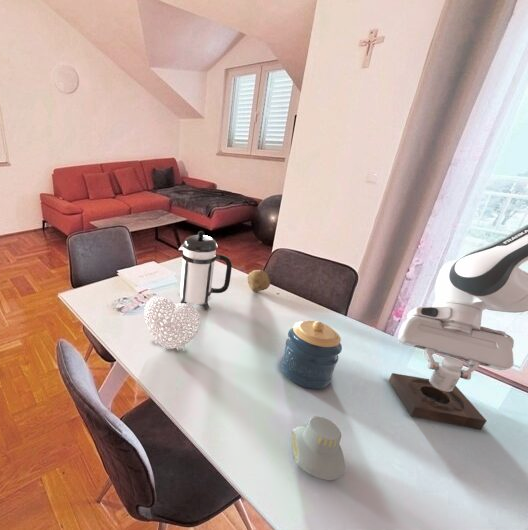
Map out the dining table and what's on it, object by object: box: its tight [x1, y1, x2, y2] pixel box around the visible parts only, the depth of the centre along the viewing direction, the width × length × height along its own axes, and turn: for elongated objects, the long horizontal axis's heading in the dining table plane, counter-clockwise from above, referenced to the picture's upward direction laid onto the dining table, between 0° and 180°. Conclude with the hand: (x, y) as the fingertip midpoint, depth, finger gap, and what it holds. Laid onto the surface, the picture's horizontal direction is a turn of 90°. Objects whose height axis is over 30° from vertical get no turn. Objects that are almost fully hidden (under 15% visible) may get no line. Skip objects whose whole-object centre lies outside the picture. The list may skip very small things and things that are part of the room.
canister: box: [280, 320, 343, 390], centre depth 87 cm, size 13×13×18 cm
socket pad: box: [388, 372, 488, 430], centre depth 80 cm, size 14×12×3 cm
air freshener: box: [290, 416, 346, 481], centre depth 65 cm, size 11×8×10 cm
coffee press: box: [178, 230, 233, 310], centre depth 122 cm, size 17×16×30 cm
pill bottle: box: [428, 356, 464, 392], centre depth 77 cm, size 4×4×8 cm
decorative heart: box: [143, 296, 201, 352], centre depth 98 cm, size 18×11×17 cm, turn 60°
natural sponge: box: [247, 269, 271, 293], centre depth 133 cm, size 9×9×10 cm
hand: (448, 373), depth 76 cm, fingers closed on pill bottle, 4 cm apart
